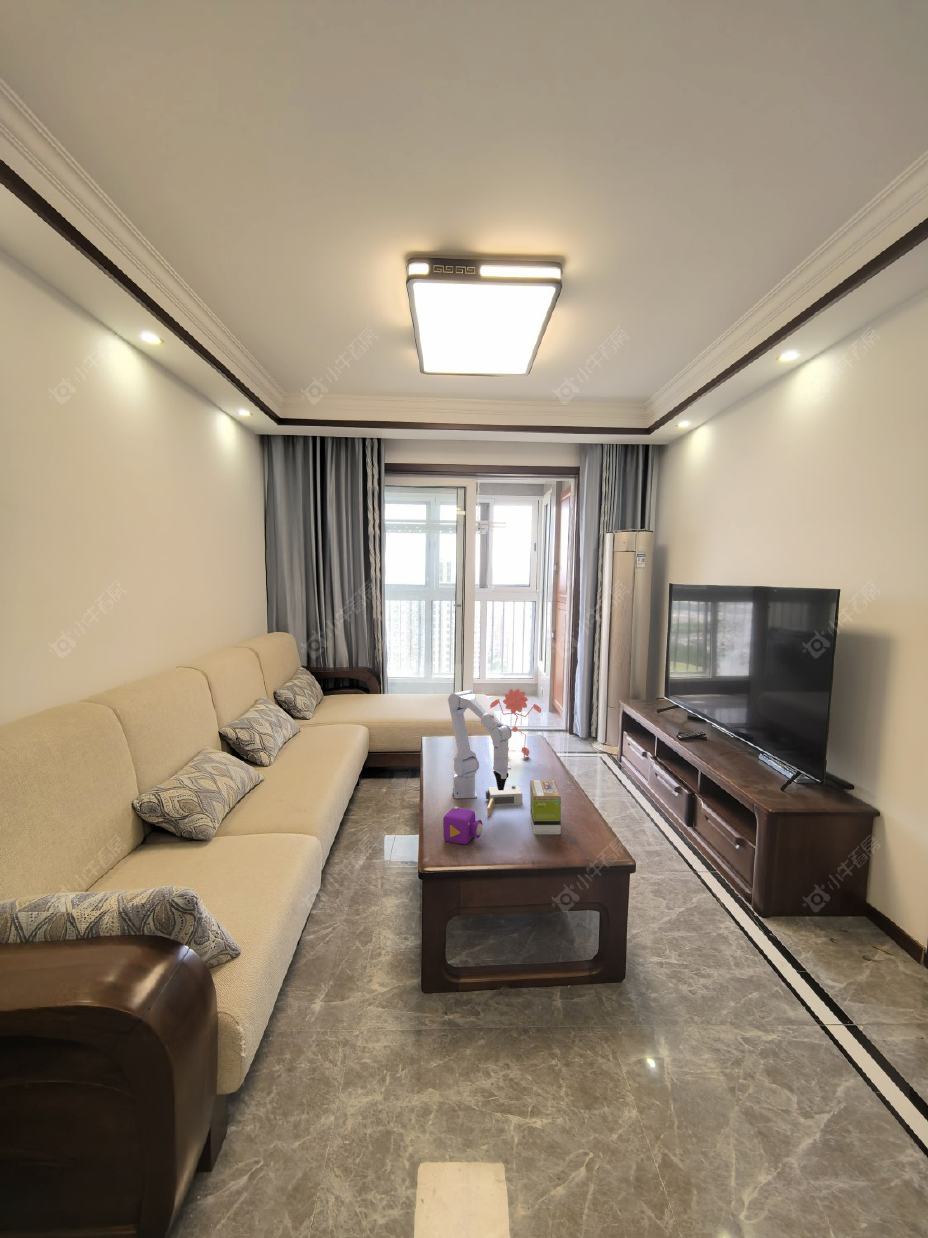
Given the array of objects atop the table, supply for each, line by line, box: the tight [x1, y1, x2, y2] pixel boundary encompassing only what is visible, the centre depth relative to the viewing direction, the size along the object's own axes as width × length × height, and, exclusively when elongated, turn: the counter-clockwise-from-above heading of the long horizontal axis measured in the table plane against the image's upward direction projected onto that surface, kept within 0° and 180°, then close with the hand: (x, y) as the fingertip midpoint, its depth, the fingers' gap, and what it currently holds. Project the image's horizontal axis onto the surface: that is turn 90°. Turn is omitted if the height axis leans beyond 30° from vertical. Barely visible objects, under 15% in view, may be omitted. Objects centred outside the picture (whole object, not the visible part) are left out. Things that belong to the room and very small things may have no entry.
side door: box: [486, 797, 494, 818], centre depth 213 cm, size 10×1×4 cm, turn 168°
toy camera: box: [442, 805, 483, 845], centre depth 191 cm, size 11×14×10 cm
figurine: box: [489, 688, 542, 761], centre depth 277 cm, size 15×26×35 cm, turn 86°
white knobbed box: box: [485, 785, 523, 807], centre depth 223 cm, size 14×8×5 cm, turn 96°
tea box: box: [529, 779, 562, 835], centre depth 201 cm, size 15×10×15 cm, turn 178°
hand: (500, 789), depth 214 cm, fingers closed
